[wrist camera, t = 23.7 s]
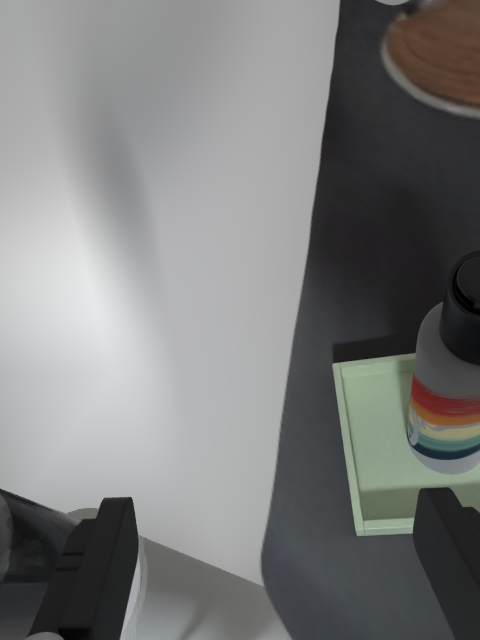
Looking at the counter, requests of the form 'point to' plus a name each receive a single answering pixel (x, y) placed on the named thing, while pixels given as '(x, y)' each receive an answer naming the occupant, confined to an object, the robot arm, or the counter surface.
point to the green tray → (386, 447)
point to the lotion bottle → (449, 377)
